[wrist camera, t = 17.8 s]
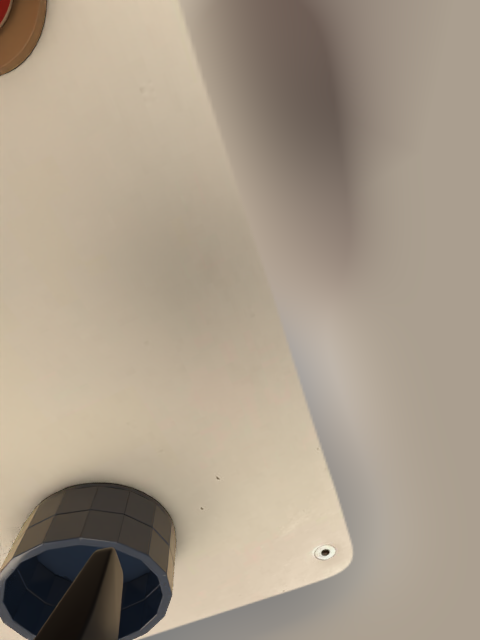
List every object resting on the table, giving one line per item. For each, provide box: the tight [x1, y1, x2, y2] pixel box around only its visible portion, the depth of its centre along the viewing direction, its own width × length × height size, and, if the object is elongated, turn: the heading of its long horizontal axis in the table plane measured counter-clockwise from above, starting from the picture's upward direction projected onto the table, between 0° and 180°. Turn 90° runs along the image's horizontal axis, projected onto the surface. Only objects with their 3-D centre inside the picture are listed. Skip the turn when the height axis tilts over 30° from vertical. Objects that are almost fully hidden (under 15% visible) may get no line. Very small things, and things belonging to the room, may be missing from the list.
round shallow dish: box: [0, 483, 176, 640], centre depth 23 cm, size 10×10×4 cm
